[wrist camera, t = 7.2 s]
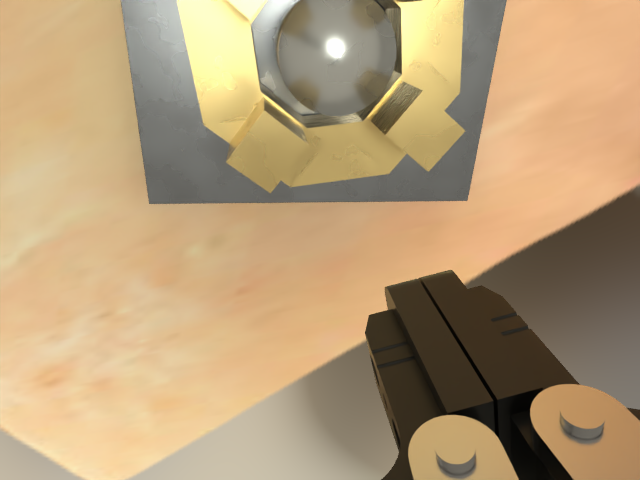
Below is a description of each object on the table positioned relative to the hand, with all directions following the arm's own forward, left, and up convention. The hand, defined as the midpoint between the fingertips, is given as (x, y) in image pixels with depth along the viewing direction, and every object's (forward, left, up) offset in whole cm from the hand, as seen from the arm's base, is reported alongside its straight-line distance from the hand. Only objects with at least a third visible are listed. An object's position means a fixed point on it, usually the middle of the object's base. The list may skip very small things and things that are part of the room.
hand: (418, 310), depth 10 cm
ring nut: (0, +4, -18) cm, 18 cm away
